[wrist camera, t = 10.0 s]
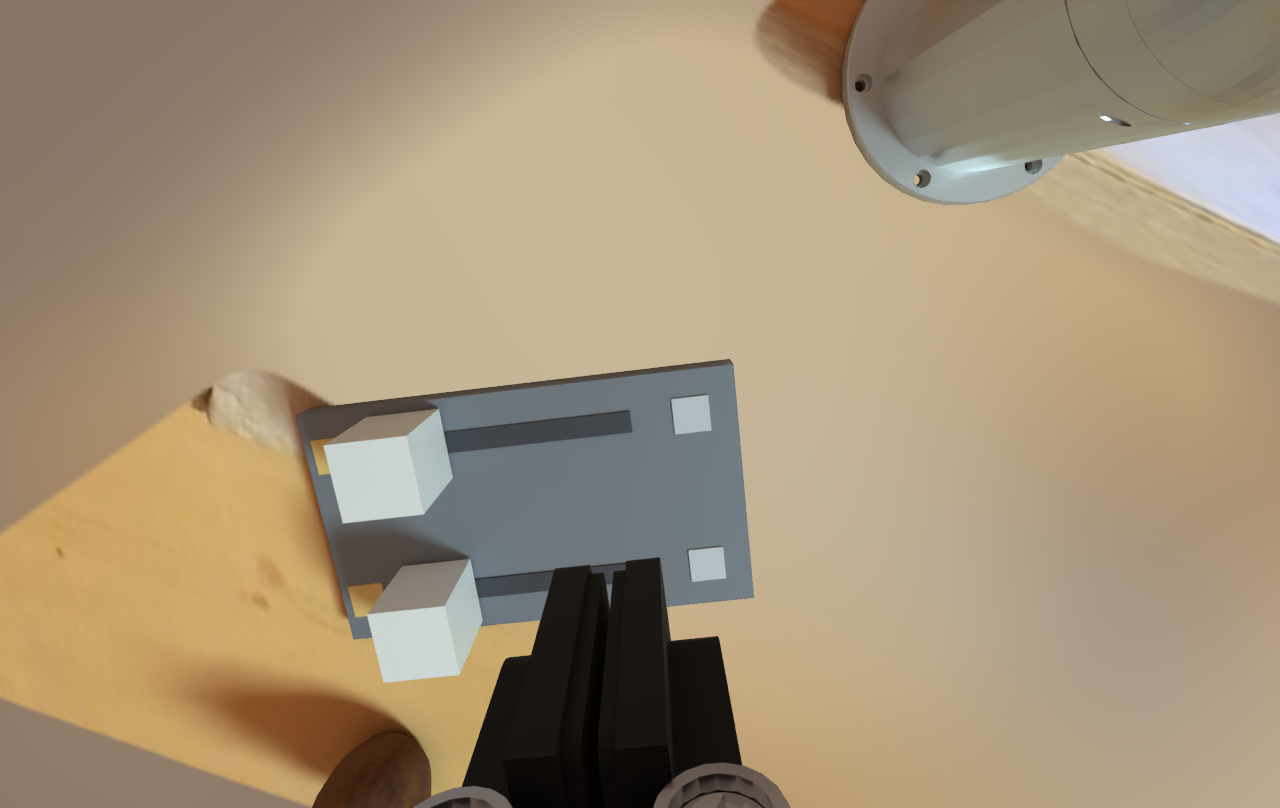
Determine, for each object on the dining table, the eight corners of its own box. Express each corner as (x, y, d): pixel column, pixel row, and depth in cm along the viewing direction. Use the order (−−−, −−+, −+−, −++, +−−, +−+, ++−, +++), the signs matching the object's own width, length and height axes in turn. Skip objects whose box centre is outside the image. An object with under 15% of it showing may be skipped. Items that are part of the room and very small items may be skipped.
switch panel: (729, 359, 37) (733, 364, 35) (749, 584, 40) (754, 598, 39) (309, 408, 38) (294, 416, 36) (363, 625, 41) (352, 640, 39)
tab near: (438, 408, 36) (406, 435, 31) (452, 477, 37) (423, 514, 32) (366, 417, 36) (323, 445, 31) (382, 485, 37) (342, 523, 32)
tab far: (470, 558, 38) (444, 606, 33) (482, 620, 39) (459, 674, 34) (402, 566, 38) (366, 614, 33) (416, 627, 39) (383, 682, 34)
